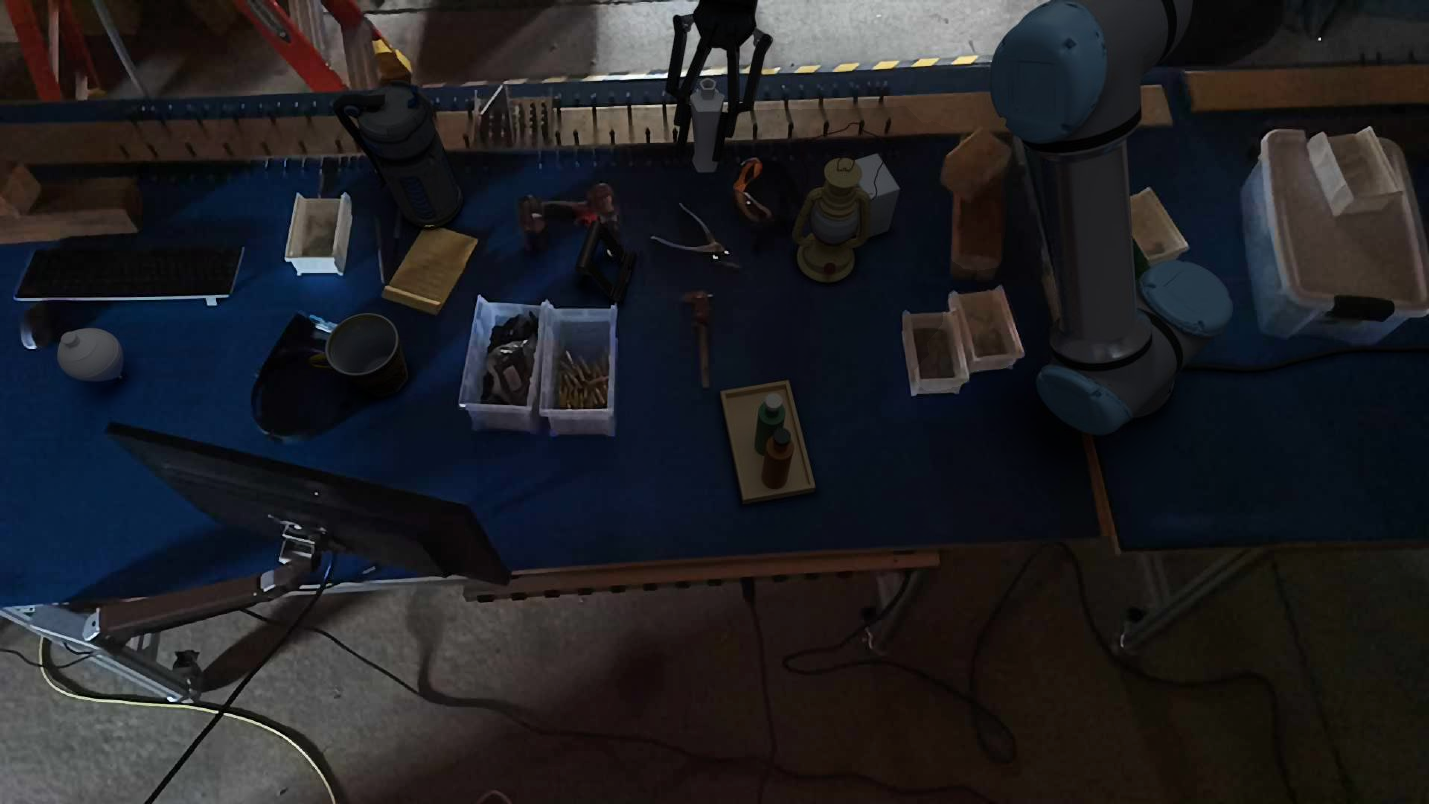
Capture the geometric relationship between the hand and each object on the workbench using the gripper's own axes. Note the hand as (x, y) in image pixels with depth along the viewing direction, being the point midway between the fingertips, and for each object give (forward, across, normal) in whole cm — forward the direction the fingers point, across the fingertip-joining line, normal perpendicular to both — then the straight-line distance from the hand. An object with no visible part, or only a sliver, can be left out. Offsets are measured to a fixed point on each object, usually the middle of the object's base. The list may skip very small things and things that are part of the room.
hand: (698, 156), depth 119 cm
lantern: (+13, -20, -19) cm, 30 cm away
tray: (+36, -19, +5) cm, 41 cm away
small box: (+6, -24, -26) cm, 36 cm away
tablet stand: (+22, +13, -10) cm, 27 cm away
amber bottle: (+39, -21, +9) cm, 46 cm away
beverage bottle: (+19, +46, -13) cm, 51 cm away
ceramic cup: (+41, +39, +10) cm, 58 cm away
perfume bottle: (+1, 0, -6) cm, 7 cm away
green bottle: (+36, -19, +6) cm, 41 cm away
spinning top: (+49, +76, +17) cm, 92 cm away
